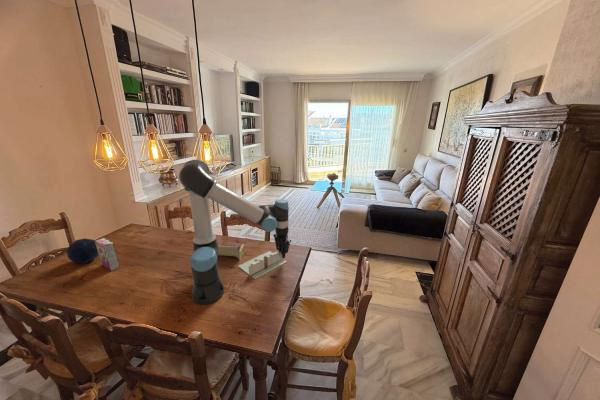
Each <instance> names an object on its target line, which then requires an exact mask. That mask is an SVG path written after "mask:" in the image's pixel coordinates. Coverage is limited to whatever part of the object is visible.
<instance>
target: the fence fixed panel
mask: <svg viewBox="0 0 600 400" xmlns="http://www.w3.org/2000/svg"><path fill="white" fill-rule="evenodd" d="M264 268H267V256H264V259H261V258H260V259H259V261H257V262H255V263H250V265H249V276H250V275H253V274H254V273H256V272H258V271H260V270H262V269H264Z"/></svg>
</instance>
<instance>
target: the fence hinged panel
mask: <svg viewBox="0 0 600 400" xmlns="http://www.w3.org/2000/svg"><path fill="white" fill-rule="evenodd" d="M272 253H273V254H271V253H270V254H269V256H267V266H269V265H271V264H273V263H275V262H277V261H279V260H280V256H279V251H278V250H277V249H276V251H275V252H272Z"/></svg>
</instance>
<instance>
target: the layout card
mask: <svg viewBox="0 0 600 400" xmlns="http://www.w3.org/2000/svg"><path fill="white" fill-rule="evenodd" d="M270 253H271V254H273V253H274V252H272V251H271V250H268V251H266V252H264V253H262V254H260V255H258V256H256V257H254V258H252V259H249V260H248V261H245V262H243V263H241V264H239V265H237V267H238V268H239V269H240V270H242V271H243V272H244V273H246V274H247V275H249V265H250V263H255V262H257V261H259V259H260V258H261V259H264V256H269V254H270ZM286 263H288V261H287V260H286V259H285V261H284V262H283V263H280V260H279V261H277V262H275V263H273V264H271V265H269V266H267V268H264V269H262V270H260V271H258V272H256V273H254V274H253V275H249V276H250V277H251V278H252V279H253V280H257V279H259V278H260V277H262V276H264V275H266V274H268V273H270V272H271V271H273V270H275V269H277V268H278V267H281V266H282V265H284V264H286Z"/></svg>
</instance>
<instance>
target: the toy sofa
mask: <svg viewBox="0 0 600 400" xmlns="http://www.w3.org/2000/svg"><path fill="white" fill-rule="evenodd" d="M244 247H245V244H244V243H242V244H241V245H237V244H234V245H233V244H218V256H225V257H227V256H229V257H236V259H238V261H241V259H242V258H243V256H244V254H245V253H244V251H245V250H244ZM242 255H243V256H242Z"/></svg>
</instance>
